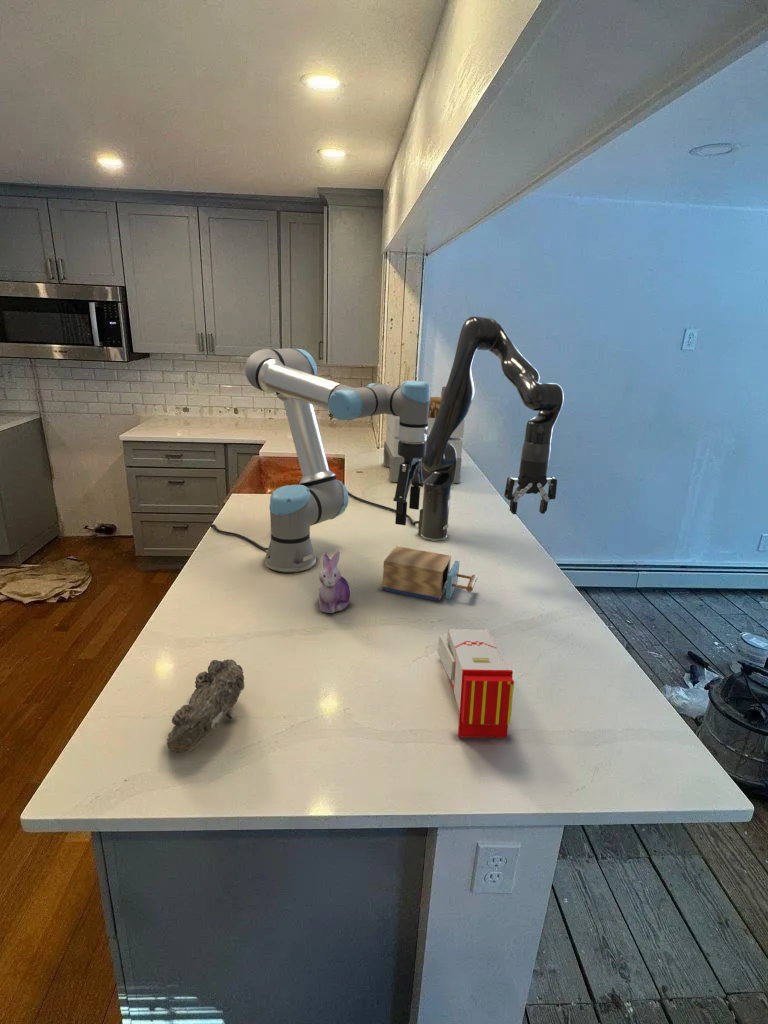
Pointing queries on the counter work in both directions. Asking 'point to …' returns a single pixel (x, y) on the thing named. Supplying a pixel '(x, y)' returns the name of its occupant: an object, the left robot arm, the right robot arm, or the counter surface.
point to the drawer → (455, 580)
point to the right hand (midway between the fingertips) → (527, 513)
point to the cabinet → (415, 573)
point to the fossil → (206, 705)
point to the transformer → (392, 441)
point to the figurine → (332, 586)
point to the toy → (478, 682)
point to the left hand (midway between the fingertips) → (407, 516)
